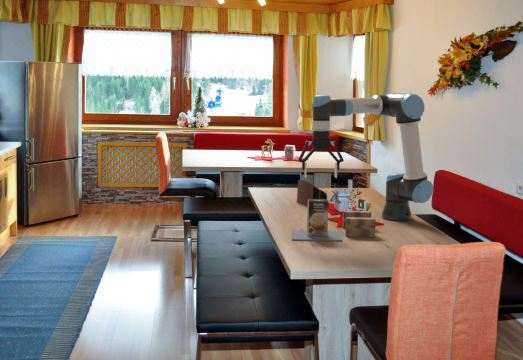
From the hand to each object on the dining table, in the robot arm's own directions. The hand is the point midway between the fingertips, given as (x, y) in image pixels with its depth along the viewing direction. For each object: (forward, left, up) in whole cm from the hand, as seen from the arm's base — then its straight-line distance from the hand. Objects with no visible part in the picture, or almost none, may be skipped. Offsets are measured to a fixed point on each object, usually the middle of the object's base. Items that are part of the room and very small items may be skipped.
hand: (320, 177), depth 301 cm
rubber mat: (+1, +3, -26) cm, 27 cm away
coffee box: (+1, +3, -26) cm, 26 cm away
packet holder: (-19, -8, -26) cm, 33 cm away
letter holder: (+1, -76, -27) cm, 80 cm away
